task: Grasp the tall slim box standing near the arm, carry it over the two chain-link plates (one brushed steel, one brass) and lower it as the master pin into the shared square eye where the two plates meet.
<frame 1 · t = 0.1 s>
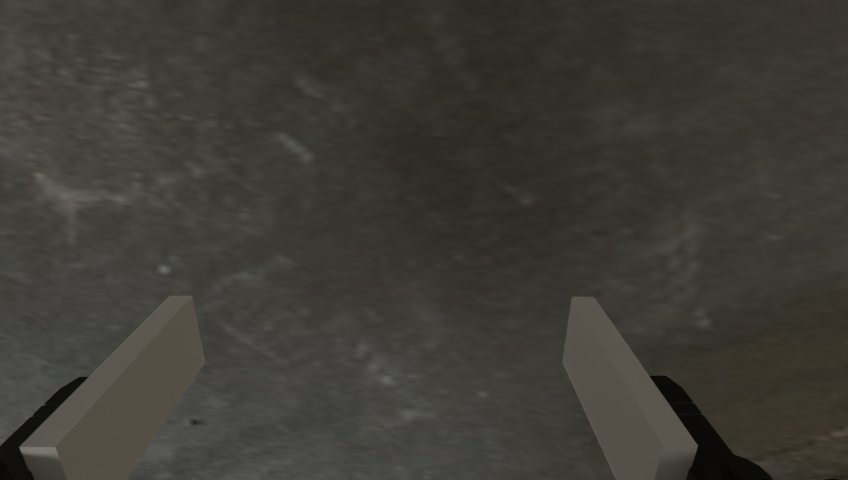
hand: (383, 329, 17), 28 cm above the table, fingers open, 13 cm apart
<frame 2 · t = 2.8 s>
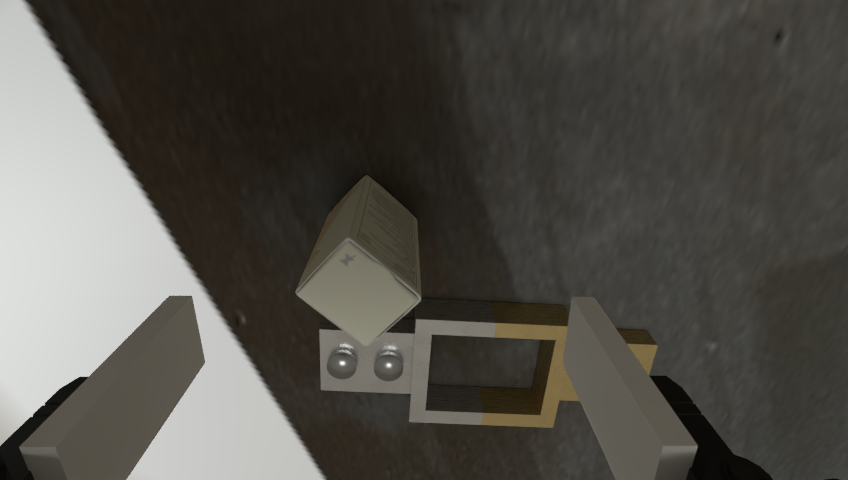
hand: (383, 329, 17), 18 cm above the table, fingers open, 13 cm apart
link b: (483, 352, 38), on the table
link a: (483, 352, 38), on the table
box: (375, 217, 34), on the table
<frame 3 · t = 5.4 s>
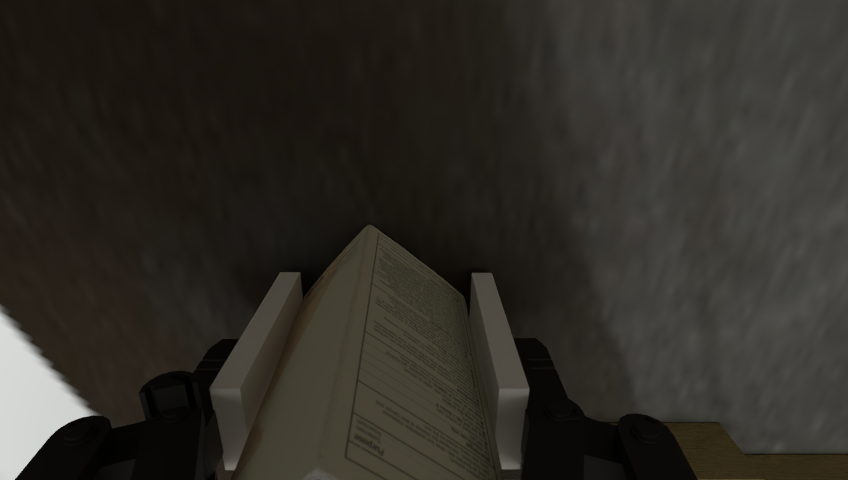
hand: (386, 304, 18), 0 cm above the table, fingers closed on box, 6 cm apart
box: (388, 295, 19), on the table, touching gripper
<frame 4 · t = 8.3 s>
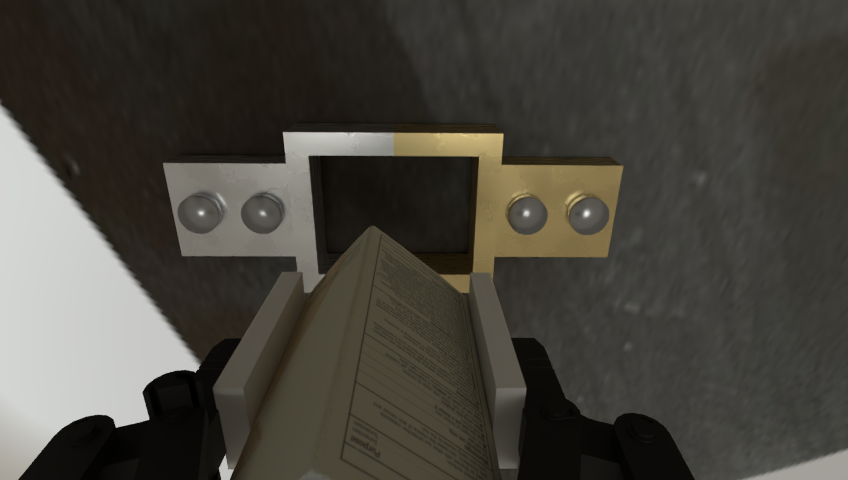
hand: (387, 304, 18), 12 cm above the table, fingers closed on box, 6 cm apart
link b: (396, 201, 29), on the table
link a: (396, 201, 29), on the table
box: (391, 296, 19), point 11 cm above the table, touching gripper
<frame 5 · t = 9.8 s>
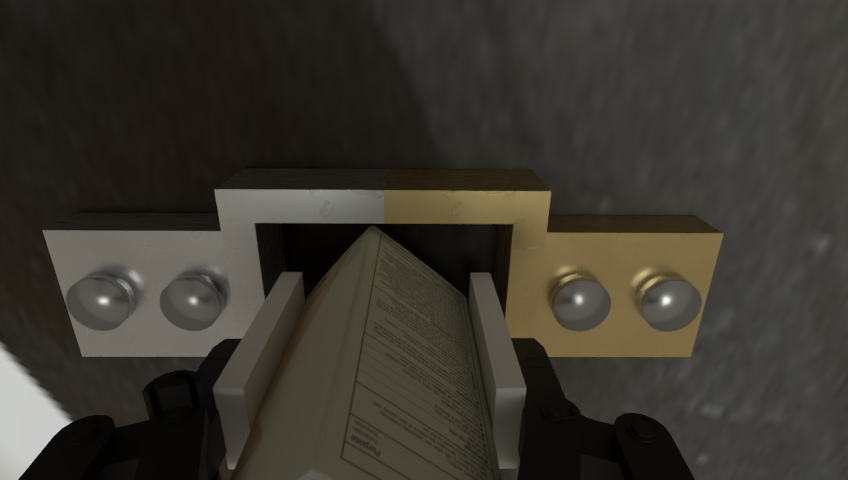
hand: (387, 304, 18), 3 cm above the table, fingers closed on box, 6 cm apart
link b: (390, 275, 21), on the table
link a: (390, 275, 21), on the table
box: (391, 296, 19), point 2 cm above the table, touching gripper
when the fingers open (2 cm above the table, at t = 10.8 s): box drops 2 cm, on the table.
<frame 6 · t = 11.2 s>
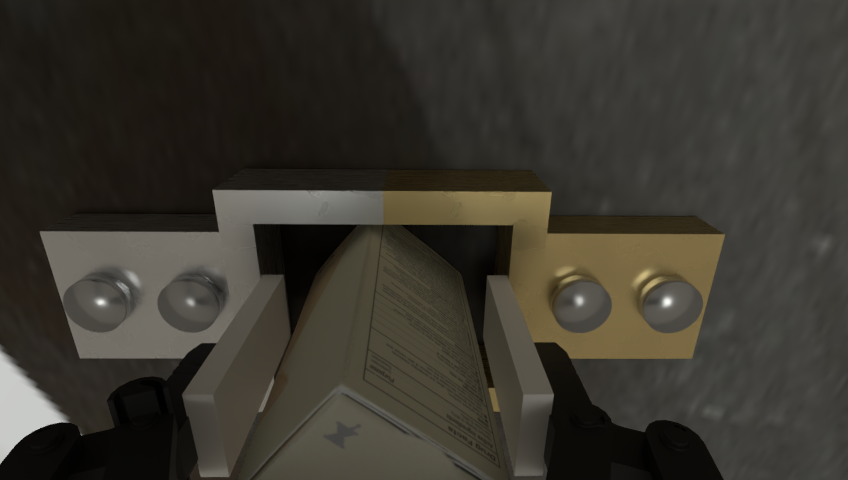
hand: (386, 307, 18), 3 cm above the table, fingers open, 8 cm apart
link b: (390, 276, 21), on the table
link a: (390, 276, 21), on the table
box: (392, 273, 21), on the table
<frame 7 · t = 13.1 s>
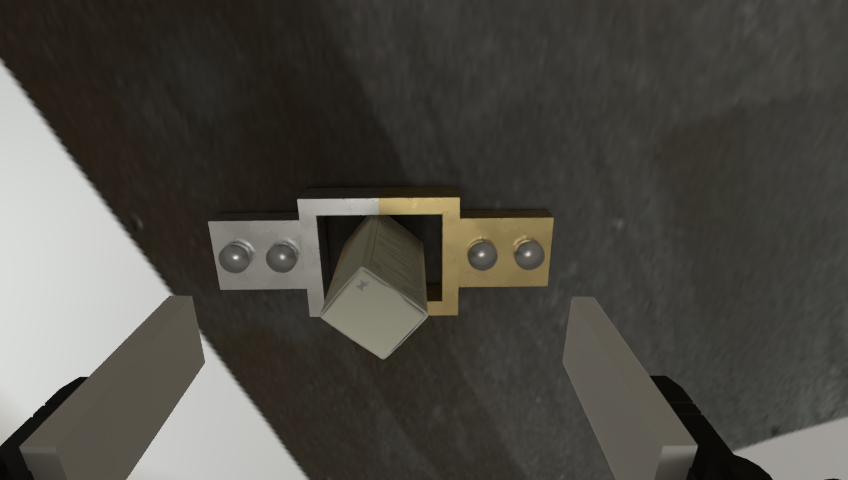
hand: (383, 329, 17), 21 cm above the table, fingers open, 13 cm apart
link b: (384, 244, 38), on the table
link a: (384, 244, 38), on the table
box: (385, 243, 38), on the table
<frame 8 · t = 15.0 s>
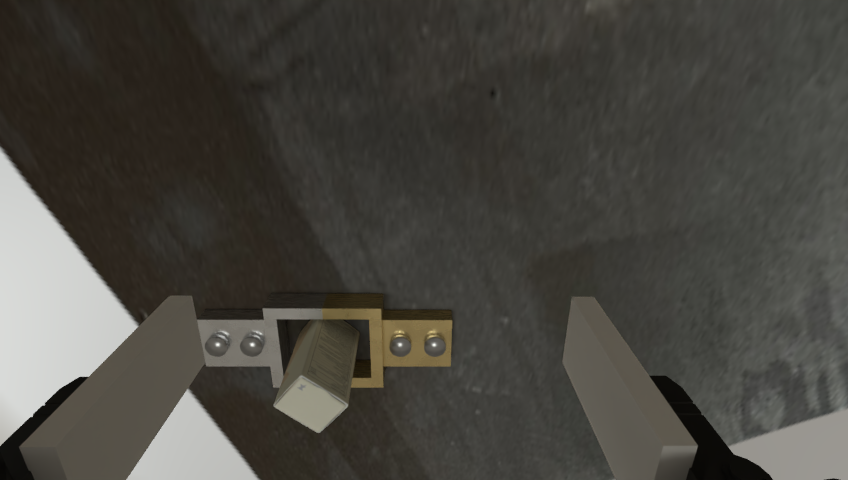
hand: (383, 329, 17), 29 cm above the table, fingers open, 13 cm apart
link b: (330, 332, 50), on the table
link a: (330, 332, 50), on the table
box: (331, 331, 50), on the table
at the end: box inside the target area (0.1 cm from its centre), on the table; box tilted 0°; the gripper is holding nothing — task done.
